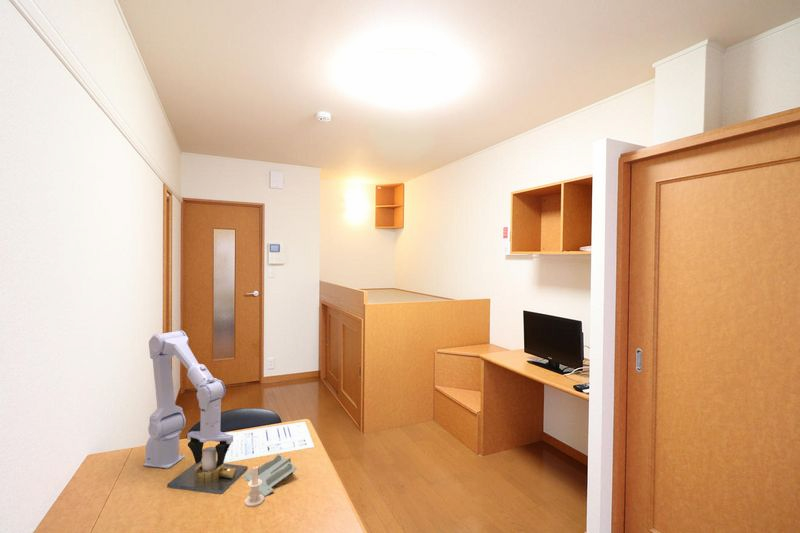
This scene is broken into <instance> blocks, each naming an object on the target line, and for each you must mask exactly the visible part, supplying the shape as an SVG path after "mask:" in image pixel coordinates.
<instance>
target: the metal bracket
mask: <svg viewBox="0 0 800 533" xmlns="http://www.w3.org/2000/svg"><path fill="white" fill-rule="evenodd" d="M291 460H292V458H291V457H288V459H287V458H285V457H284V456H282V455H280V454H277V455H276V456H275V457H274V458H273V459H271V460H269V461H266V462H265V463H264V464H262V465H260V466H259V467H258V479H260V480H262V483H261V484H260V485H259V490H260V494H261V495H263V496H264V498H266V497H267V496H269V495H270V494H271V493H273V492H274V489H273V487H274V486H276V485H277V484H278V483H280V481H283V480H284V479H285V478H286V477H288V476H290V475H291V474H293V473H294V472H295V471H297V469H298V467H297V466H296V465H294V464H293V463H292V462H291ZM242 477H243V479H244V478H245V479H244V480H246V481H247V482H249V481H251V480H252V470H249V471H248V472H246V473H245V474H243V476H242Z"/></svg>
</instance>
